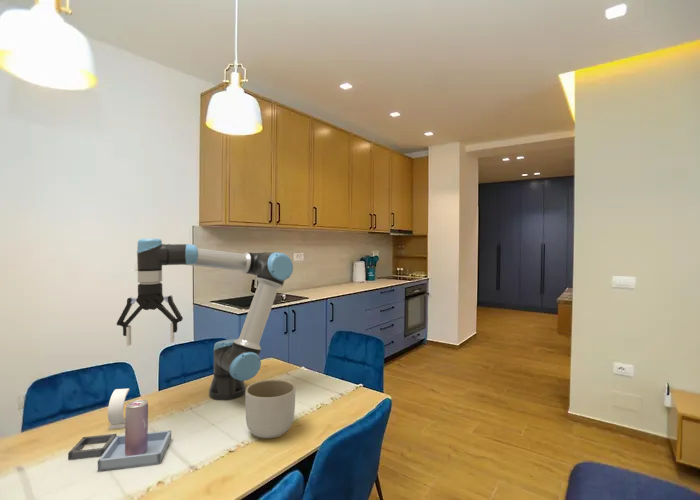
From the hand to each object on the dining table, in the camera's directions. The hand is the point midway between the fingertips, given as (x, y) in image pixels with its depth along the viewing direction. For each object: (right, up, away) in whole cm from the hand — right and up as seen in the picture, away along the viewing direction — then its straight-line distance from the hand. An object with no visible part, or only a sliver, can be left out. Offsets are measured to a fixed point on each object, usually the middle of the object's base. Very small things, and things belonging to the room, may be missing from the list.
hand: (151, 343), depth 126 cm
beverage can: (+4, -29, -16) cm, 34 cm away
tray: (+4, -30, -16) cm, 34 cm away
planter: (+42, -31, -1) cm, 52 cm away
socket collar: (-11, -30, -14) cm, 34 cm away
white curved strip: (-12, -30, +2) cm, 32 cm away
